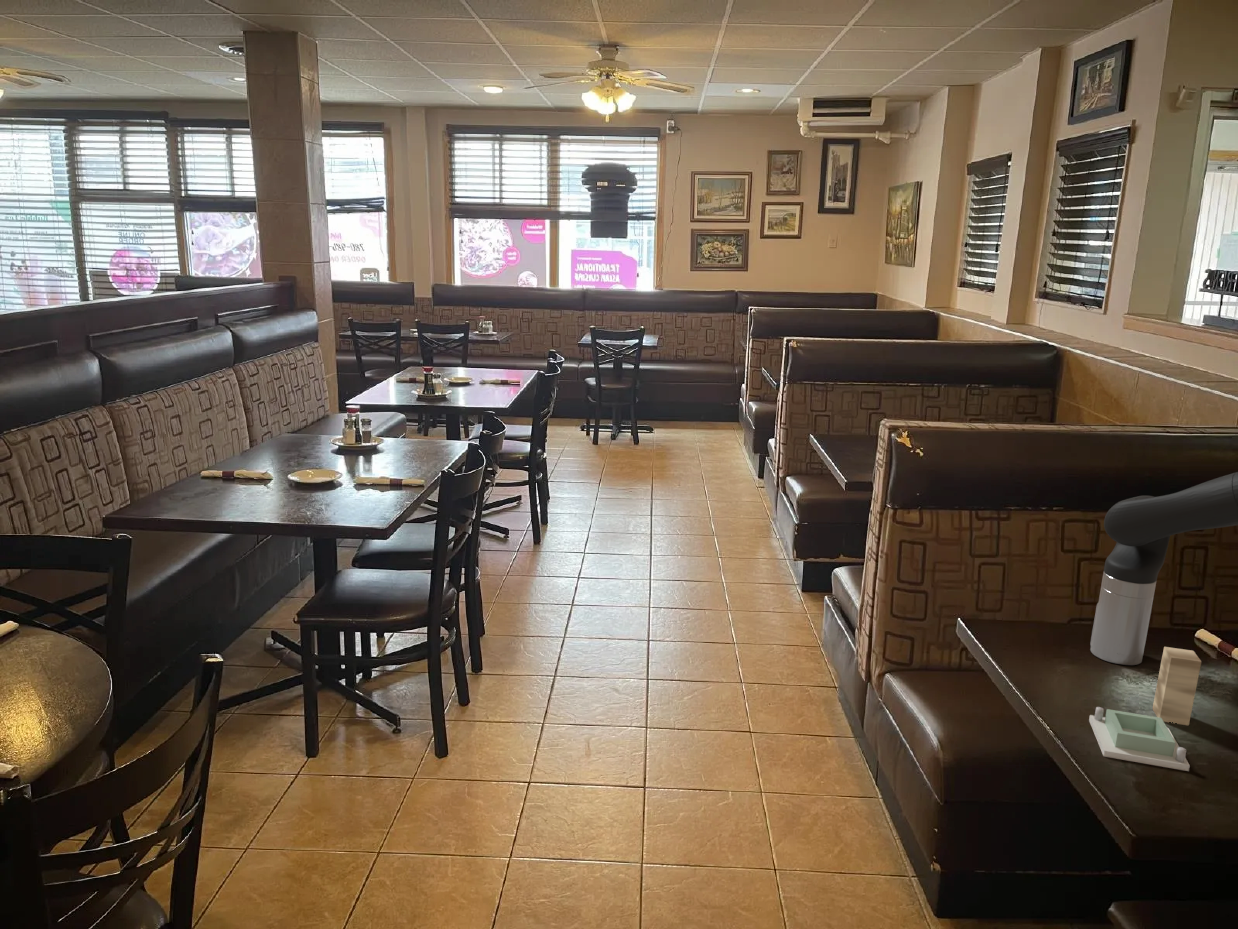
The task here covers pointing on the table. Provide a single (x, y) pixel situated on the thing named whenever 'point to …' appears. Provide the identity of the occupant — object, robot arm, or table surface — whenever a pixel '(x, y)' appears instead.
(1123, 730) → the socket plate
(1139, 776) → the table surface
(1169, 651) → the maple block
